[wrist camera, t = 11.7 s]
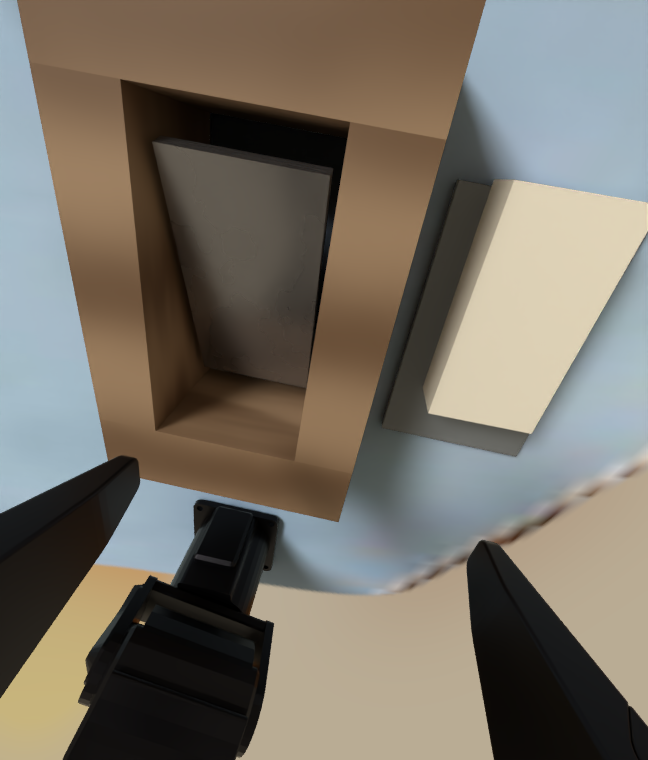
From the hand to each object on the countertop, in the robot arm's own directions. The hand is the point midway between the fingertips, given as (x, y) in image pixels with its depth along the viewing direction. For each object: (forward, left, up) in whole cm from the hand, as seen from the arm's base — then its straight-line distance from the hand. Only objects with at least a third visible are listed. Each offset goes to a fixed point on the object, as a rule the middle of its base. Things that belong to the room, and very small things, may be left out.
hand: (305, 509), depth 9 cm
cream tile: (+3, -7, -11) cm, 14 cm away
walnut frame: (+2, +4, -12) cm, 13 cm away
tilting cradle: (+2, +4, -8) cm, 10 cm away
